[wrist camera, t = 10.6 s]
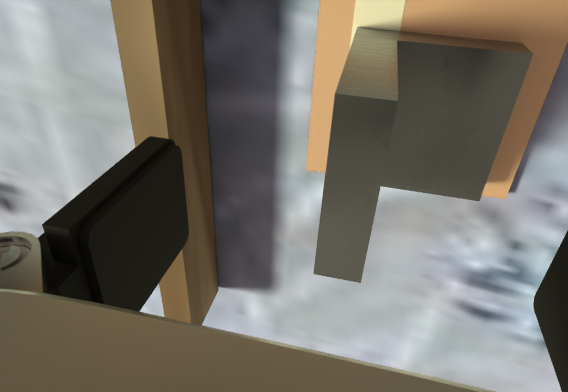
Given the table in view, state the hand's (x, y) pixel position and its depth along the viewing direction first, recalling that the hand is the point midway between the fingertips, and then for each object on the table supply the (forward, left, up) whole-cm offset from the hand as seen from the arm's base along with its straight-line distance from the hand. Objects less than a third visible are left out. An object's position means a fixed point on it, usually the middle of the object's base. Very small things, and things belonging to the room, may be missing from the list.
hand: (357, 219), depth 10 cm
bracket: (-2, 0, -9) cm, 9 cm away
